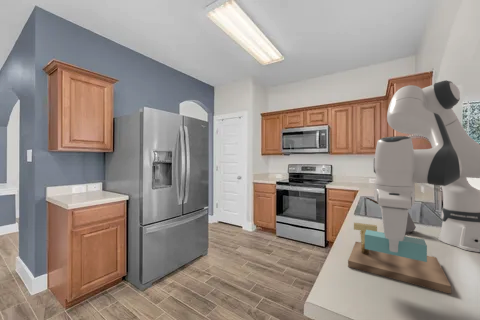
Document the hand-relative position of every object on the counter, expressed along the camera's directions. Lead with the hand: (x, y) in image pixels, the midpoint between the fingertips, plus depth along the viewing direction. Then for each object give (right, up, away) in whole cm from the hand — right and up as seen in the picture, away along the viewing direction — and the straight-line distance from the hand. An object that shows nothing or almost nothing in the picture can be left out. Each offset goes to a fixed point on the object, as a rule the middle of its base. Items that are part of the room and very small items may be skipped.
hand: (393, 246), depth 56 cm
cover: (0, -1, 0) cm, 1 cm away
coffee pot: (+35, -12, +51) cm, 63 cm away
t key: (+4, -9, +20) cm, 22 cm away
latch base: (+9, -11, +13) cm, 20 cm away
